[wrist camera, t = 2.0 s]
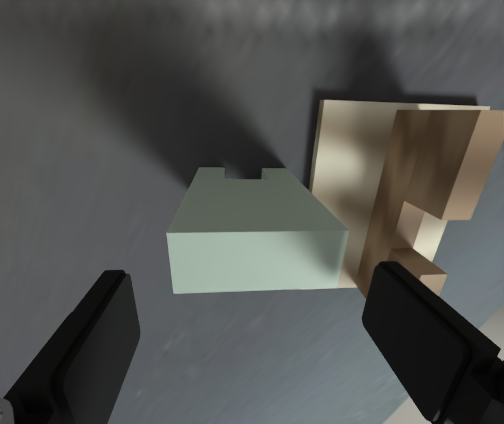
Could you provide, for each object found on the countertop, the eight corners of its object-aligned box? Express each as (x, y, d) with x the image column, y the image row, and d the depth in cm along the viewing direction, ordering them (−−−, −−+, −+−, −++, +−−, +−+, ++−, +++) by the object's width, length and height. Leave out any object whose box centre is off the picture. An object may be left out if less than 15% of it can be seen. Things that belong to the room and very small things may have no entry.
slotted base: (319, 100, 19) (376, 94, 12) (478, 106, 21) (615, 105, 13) (296, 283, 26) (323, 350, 19) (416, 278, 28) (485, 339, 20)
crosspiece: (199, 167, 21) (166, 233, 10) (286, 168, 21) (349, 230, 10) (200, 200, 22) (173, 293, 11) (283, 200, 22) (337, 287, 11)
